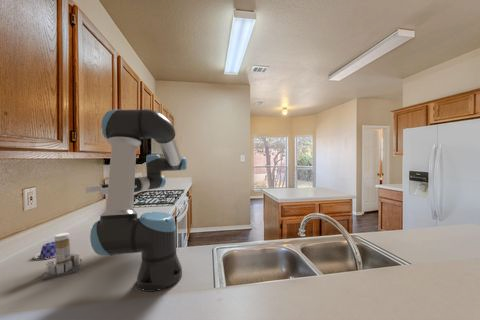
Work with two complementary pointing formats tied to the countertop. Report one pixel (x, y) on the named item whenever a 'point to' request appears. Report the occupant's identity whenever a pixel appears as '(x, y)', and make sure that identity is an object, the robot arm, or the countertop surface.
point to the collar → (62, 267)
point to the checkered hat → (48, 250)
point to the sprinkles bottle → (62, 247)
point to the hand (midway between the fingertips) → (93, 190)
